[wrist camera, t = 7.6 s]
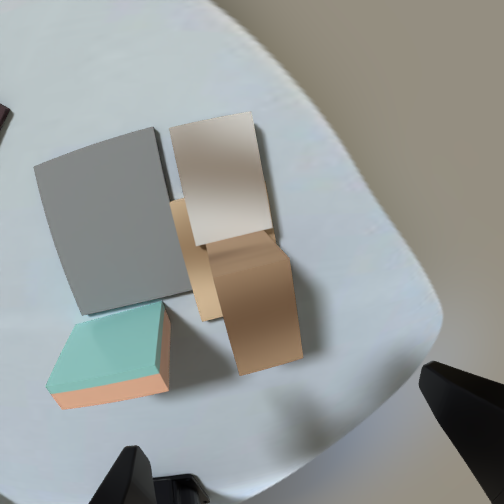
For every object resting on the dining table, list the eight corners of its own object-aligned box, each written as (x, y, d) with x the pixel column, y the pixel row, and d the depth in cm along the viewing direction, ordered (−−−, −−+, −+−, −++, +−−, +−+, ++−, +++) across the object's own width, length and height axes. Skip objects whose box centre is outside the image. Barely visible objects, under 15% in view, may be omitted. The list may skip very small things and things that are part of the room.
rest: (282, 295, 19) (285, 300, 19) (201, 316, 18) (202, 321, 18) (262, 180, 17) (265, 181, 16) (170, 201, 16) (169, 203, 15)
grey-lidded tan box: (283, 306, 19) (313, 354, 14) (217, 323, 18) (229, 378, 13) (248, 112, 15) (275, 97, 10) (169, 128, 14) (161, 119, 10)
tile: (171, 323, 18) (169, 390, 13) (86, 345, 18) (62, 409, 12) (161, 300, 18) (154, 364, 12) (75, 324, 17) (45, 386, 12)
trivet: (192, 287, 18) (192, 289, 17) (83, 312, 17) (82, 315, 17) (153, 127, 15) (152, 126, 14) (36, 166, 14) (33, 167, 13)
